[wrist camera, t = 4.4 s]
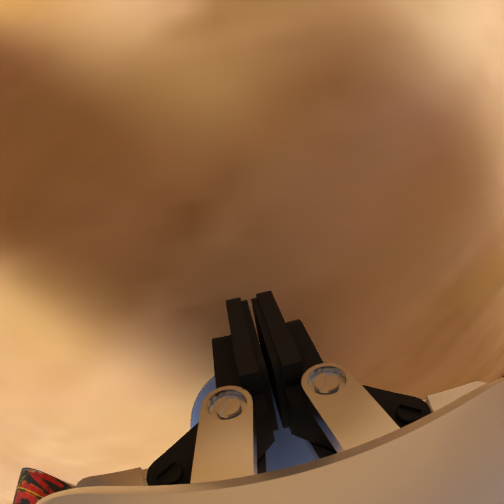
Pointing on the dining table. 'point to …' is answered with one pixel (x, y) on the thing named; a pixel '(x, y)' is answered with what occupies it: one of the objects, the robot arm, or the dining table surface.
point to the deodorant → (36, 486)
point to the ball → (285, 445)
